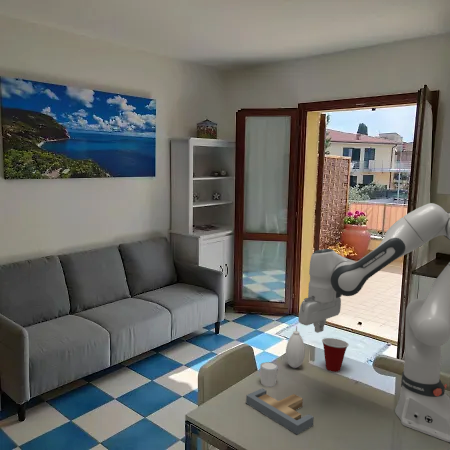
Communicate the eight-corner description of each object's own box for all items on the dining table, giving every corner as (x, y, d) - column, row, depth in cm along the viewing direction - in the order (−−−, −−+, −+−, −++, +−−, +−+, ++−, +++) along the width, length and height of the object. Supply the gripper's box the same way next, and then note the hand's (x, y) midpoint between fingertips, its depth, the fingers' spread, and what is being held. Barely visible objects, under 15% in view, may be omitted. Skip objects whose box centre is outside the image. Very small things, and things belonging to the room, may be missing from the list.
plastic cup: (351, 368, 181) (353, 341, 179) (339, 377, 172) (341, 348, 171) (327, 360, 188) (329, 334, 186) (315, 368, 180) (317, 341, 178)
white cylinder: (276, 388, 162) (277, 370, 161) (258, 386, 163) (259, 368, 162) (277, 380, 169) (278, 363, 168) (260, 377, 170) (261, 360, 169)
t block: (316, 414, 145) (316, 406, 145) (292, 427, 137) (293, 418, 137) (280, 394, 157) (281, 387, 157) (257, 405, 149) (257, 397, 149)
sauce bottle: (287, 361, 186) (289, 321, 183) (305, 365, 183) (307, 324, 181) (283, 369, 178) (285, 327, 176) (301, 372, 175) (304, 330, 173)
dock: (313, 425, 139) (313, 416, 138) (297, 434, 133) (297, 425, 133) (262, 396, 156) (262, 388, 156) (246, 403, 151) (246, 395, 150)
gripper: (309, 301, 144) (307, 341, 145) (344, 291, 157) (342, 327, 159) (295, 297, 149) (293, 335, 150) (330, 287, 162) (328, 323, 164)
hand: (319, 331), depth 155 cm, fingers closed
